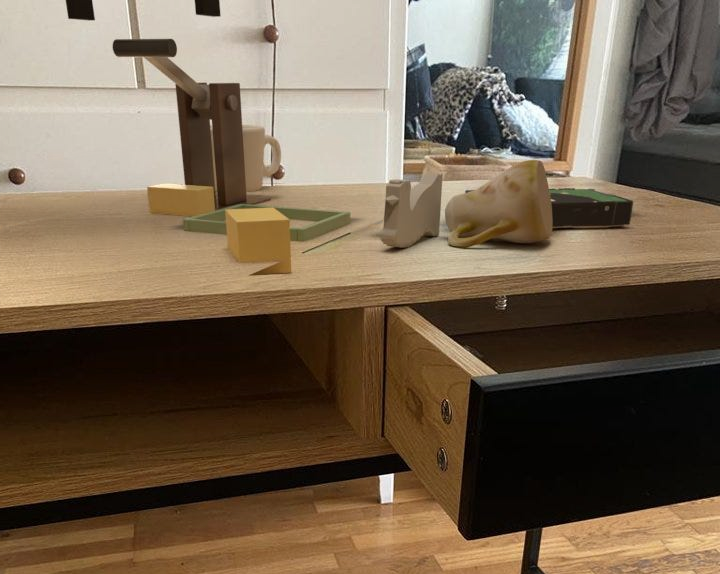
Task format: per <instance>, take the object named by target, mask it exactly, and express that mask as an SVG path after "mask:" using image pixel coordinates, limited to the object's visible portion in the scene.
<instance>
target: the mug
mask: <svg viewBox="0 0 720 574" xmlns="http://www.w3.org/2000/svg"><path fill="white" fill-rule="evenodd" d="M549 189H550V186H549V181H548V177H547V173H546V169H545V165H544V163H543V162H542V160H539V159H530V160H523V161H520V162H518V163H515V164H513V165H511V166H509V167H508V168H506V169H505V170H503V171H501V172H500V173H499V174H497V175H496V176H495V177H493V178H491V179H490V180H488V181H487V182H486V183H484V184H483V185H481V186H479V187H478V188H476V189H473V190H474V191H471V192H467V193H465V192H464V193H460V194H456V195H454V196H452V197H451V198H450V200H449V201H448V202H447V204H446V206H445V208H444V220H445V224H446V226H447V228H448V230H449V232H450V233H449V235H448V237H447V243H448V244H449V245H450V246H453V247H457V248H458V247H459V248H471V247H474V246H476V245H479V244H482V243H485V242H487V241H489V240H492V239H497V240H501V241H506V242H510V243H515V244H534V243H539V242H541V241H544V240H548V239H549V240H550V239H551V237H552V235H553V229H554V228H553V227H552V226H553V219H552V204H551V198H550V192H549ZM552 228H553V229H552Z"/></svg>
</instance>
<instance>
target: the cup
mask: <svg viewBox="0 0 720 574" xmlns="http://www.w3.org/2000/svg"><path fill="white" fill-rule="evenodd" d="M210 130H211V142H212V155H213V168H214V181H215V192H217V182H216V169H215V156H214V143H213V130H212V124H210ZM242 130H243V146H244V163H245V180H246V193H247V192H254V191H259V190H262V189H263V179H264V177H268V176H272V175H273V174H275V173H277V171H278V170H279V168H280V165H281V160H282V150H281V145H280V142H279V141H278V139H277V138H276V137H274V136H272V135H269V134H266V129H265V127H264V126H262V125H255V124H242ZM267 144H269V146H270V148H271V153H272V157H271V158H272V159H271V163H270V165H269V166H268V167H266V165H265V162H264V159H265V158H264V155H265V147H266V145H267Z"/></svg>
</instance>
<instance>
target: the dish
mask: <svg viewBox="0 0 720 574" xmlns="http://www.w3.org/2000/svg"><path fill="white" fill-rule="evenodd" d="M250 208H275V209H276V210H277V211H279V212H280V213H281V214H283V215H284V216H285V217H287V218H288V219H289V220H294V221H305V222H313V223H310V224H307V225H305V226H301V227H294V226H290V242H292V241H293V242H306V241H309V240H311V239H314V238H316V237H319V236H322V235H324V234H327V233H329V232H332V231H334V230H337V229H339V228H342V227H344V226H347V225H349V224H351V212H350V211H344V210H343V211H342V210H341V211H340V210H331V209H330V210H329V209H316V208H315V209H314V208H301V207H290V206H289V207H286V206H274V205H262V204H256V205H249V204H238V205H235V206H231V207H227V208H223V209H220V210H216V211H212V212H208V213H205V214H201V215H197V216H189V217H186V218H183V219H182V224H183V231H185V232H194V233H202V234H203V233H205V234H215V235H216V234H217V235H225V236H227V229H226V215H225V210H226V209H250ZM349 234H351V232H347V233H345V234H343V235H340V236H338V237H335V238H333V239H331V240H328V241H326V242H324V243H321V244H319V245H317V246H315V247H312V248H310V249H307V250H305V251H302V252H301V254H305V253H308V252H310V251H312V250H315V249H316V248H317V249H318V248H319V247H321V246H324V245H326V244H328V243H331V242H333V241H335V240H338V239H341V238H342V237H345V236H347V235H349Z"/></svg>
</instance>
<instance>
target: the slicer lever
mask: <svg viewBox="0 0 720 574" xmlns="http://www.w3.org/2000/svg"><path fill="white" fill-rule="evenodd" d="M112 51H113V54H114V55H115V57H117V58H143V59H145V60H146V61H147V62H148V63H149V64H151V65H152V66H153V67H155V68H156V69H157V70H158V71H160V72H161V73H162V74H163V75H165V76H166V77H167V78H168V79H169V80H170V81H172V82H173V83H174V84H175V83H176V84H177V85H178V86H179V87H180V88H182V89H183V90H184V91H185V92H187V93H188V94H189V95H190V96H191V97H193V101H192V107H191V108H192V109H193V110H195V111H196V112H197V113H198V114H200V115H201V116H202V117H203V118H205V119H208V120H210V121H212V117H211V104H210V91H209V84H207V85H204V84H198V83H197V81H196V80H195V79H194V78H192V77H191V76H190V75H189V74H188V73H186V72H185V71H184V70H183V69H182V68H181V67H180V66H178V64H176V63H175V62H173V61H172V59H170V58H175V57H176V56H177V53H178V46H177V43H176V41H175V40H174V39H173V38H121V39H120V38H116V39H114V40H113V42H112Z"/></svg>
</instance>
